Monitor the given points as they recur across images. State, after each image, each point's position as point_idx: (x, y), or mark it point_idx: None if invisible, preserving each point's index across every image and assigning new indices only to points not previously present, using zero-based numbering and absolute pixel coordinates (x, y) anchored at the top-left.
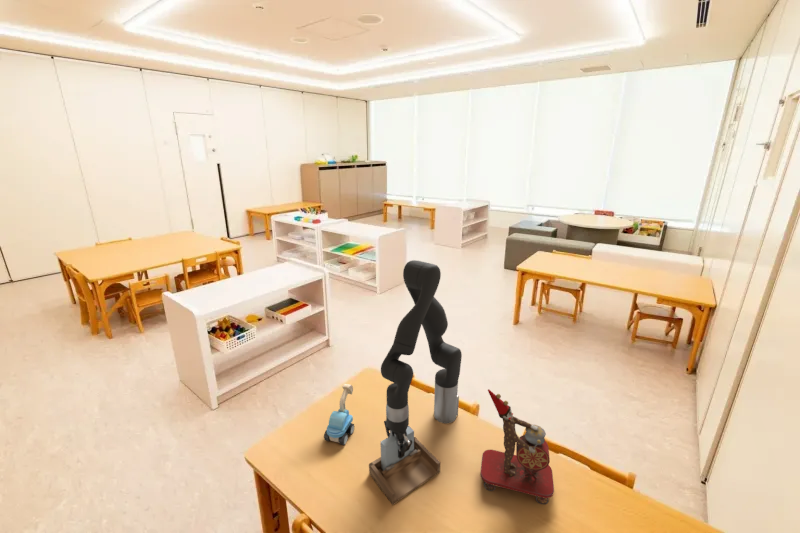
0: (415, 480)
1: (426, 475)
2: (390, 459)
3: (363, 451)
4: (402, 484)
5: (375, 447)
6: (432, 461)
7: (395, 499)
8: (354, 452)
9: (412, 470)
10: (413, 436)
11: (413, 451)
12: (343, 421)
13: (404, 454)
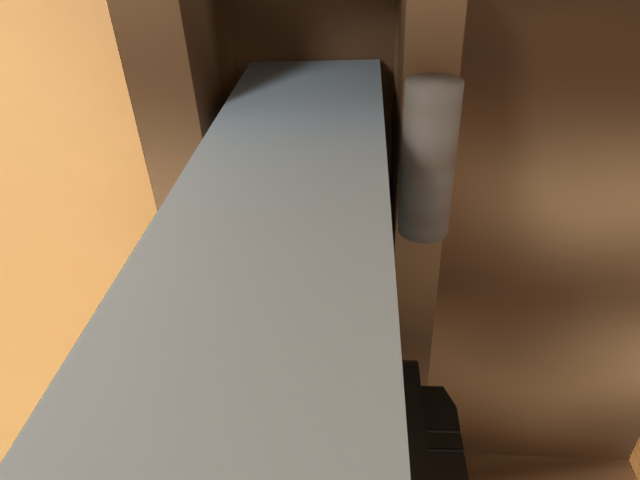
0: None
1: None
2: None
3: (19, 381)
4: (567, 360)
5: (3, 293)
6: None
7: (633, 473)
8: (8, 426)
9: (525, 196)
10: (405, 419)
11: (425, 163)
12: None
13: (459, 430)
